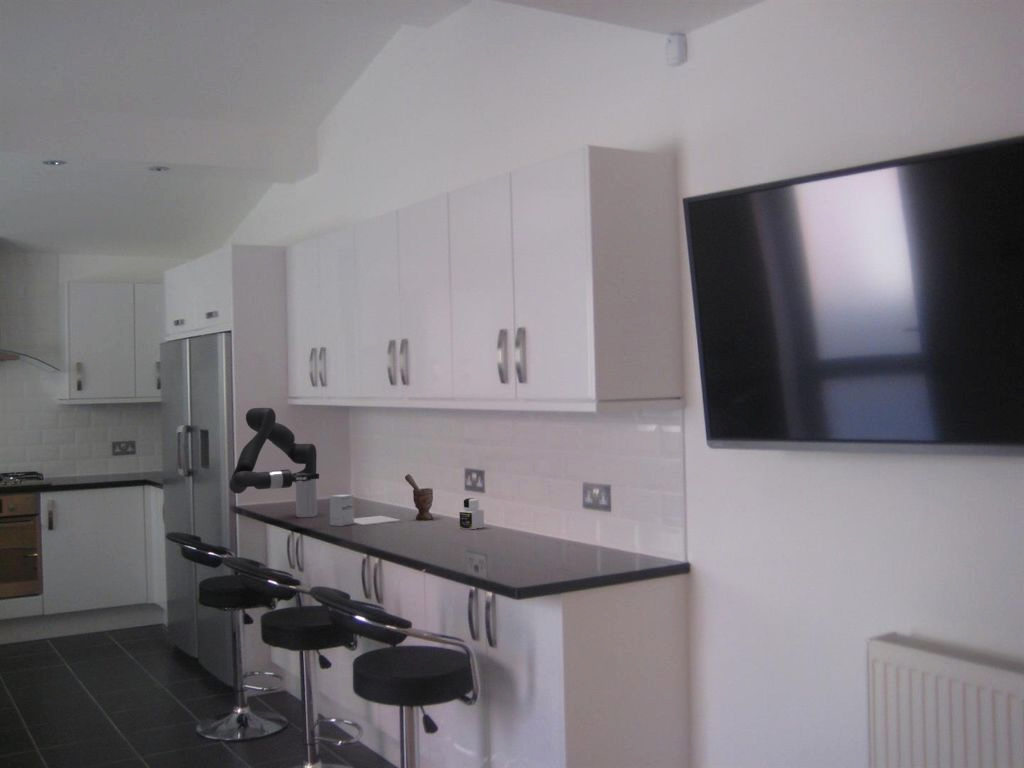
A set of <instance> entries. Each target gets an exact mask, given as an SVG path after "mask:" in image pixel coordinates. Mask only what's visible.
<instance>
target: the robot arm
mask: <svg viewBox="0 0 1024 768" xmlns="http://www.w3.org/2000/svg"><path fill="white" fill-rule="evenodd" d="M245 420H246V424H247V426H248V427H249V429H251V430H253V431H255V432H256V434H255V435H254V436H253V437H252V439H250V440H249V441H248V442H247V443H246V445H245V446H244V447H243V448H242V450H241V452H240V455H239V458H238V460H237V464H236V467H235V469H234V470H233V473H232V475H231V478H230V480H229V489H230V491H231V492H232V493H234V494H242V493H244V492H245V491H246V490H247V488H249V487H251V488H252V487H253V488H255V489H256V490H267V489H268V490H269V489H272V490H274V489H275V490H277V489H285V488H291V487H292V485H293V483H294V485H295V506H296V509H295V511H296V517H297V518H313V517H317V516H318V506H317V505H318V503H317V502H318V501H317V499H318V498H317V480H319V479H320V474H319V473H317V460H318V459H317V448H316V445H314V444H313V443H297V442H295V439H296V438H295V434H294V432H293V431H292V430H291V429H290V428H288V427H287V426H286V425H284V424H281V423H278V422H276V421H277V416H276V412H275V410H274V409H273V408H271V407H252V408H249V410H248V411H247V412H246V414H245ZM267 440H268V441H269V442H271V443H272V444H273V445H274V446H276V448H278V449H279V450H280V451H282V452H283V453H284V454H285V455H286V456H287V457H288V458H289V459H290V461H292V462H293V463H294V464H298V465H305V466H304V468H303V469H302V470H300V471H297V472H292V471H291V470H290V469H288V468H287V469H274V470H269V471H260V472H256V471H254V469H255V466H256V464H257V461H258V458H259V455H260V452H261V450H262V449H263V447H264V445H265V444H266V442H267Z"/></svg>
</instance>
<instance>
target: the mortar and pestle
mask: <svg viewBox="0 0 1024 768" xmlns="http://www.w3.org/2000/svg"><path fill="white" fill-rule="evenodd" d="M404 479H405V480H406V482H407V483H408V484H409V485H410V486H411V487H412V489H413V490H412V493H413V494H412V495H413V503H414V507H415V508H416V509H417V510H418V513H417V514H416V517H415V519H416V520H417V521H425V520H434V517H433V514H432V513H430V509H431V508H432V505H433V500H434V494H433V493H434V489H433V488H431V487H428V488H427V487H426V488H420V487H419V486H418V484H417V482H416V481H415V479H414V478H413V476H412V475H411V474H409V473H408V474H406V475H405V477H404Z"/></svg>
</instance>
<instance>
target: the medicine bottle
mask: <svg viewBox="0 0 1024 768" xmlns="http://www.w3.org/2000/svg"><path fill="white" fill-rule="evenodd" d="M479 505H480V504H479V499H478V498H475V497H474V498H473V497H469V498H465V499H464V500H463V510H460V511H459V512H458V513H459V529H460V528H462V529H461V530H469V529H474V530H477V528H479V529H483V527H484V528H485V515H484V510H483V509H480V508H479V507H480V506H479Z"/></svg>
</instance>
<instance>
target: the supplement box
mask: <svg viewBox="0 0 1024 768" xmlns="http://www.w3.org/2000/svg"><path fill="white" fill-rule="evenodd" d="M354 514H355V512H354V494H334V495H329V524H330V526H334V527H335V526H337V527H343V526H349V525H353V524H354V519H355V516H354ZM354 525H355V524H354Z"/></svg>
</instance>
